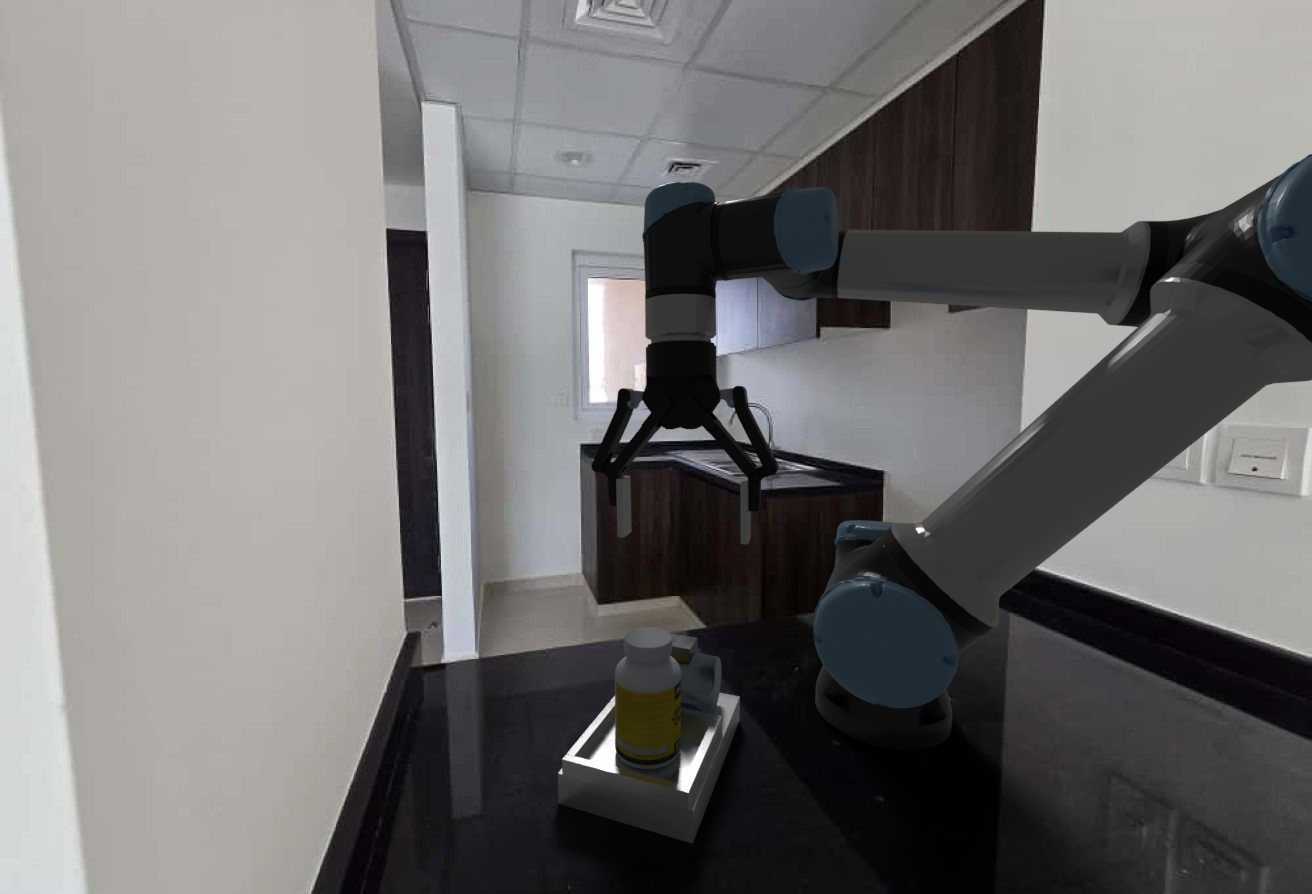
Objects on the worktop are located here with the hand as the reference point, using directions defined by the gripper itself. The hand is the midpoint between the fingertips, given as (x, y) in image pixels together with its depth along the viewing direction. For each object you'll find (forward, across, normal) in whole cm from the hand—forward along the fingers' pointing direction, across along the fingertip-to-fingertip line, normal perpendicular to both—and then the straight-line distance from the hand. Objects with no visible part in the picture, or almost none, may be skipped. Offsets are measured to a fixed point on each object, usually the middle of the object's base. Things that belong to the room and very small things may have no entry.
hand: (683, 538), depth 61 cm
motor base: (+22, +2, +5) cm, 23 cm away
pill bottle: (+19, +2, +9) cm, 21 cm away
